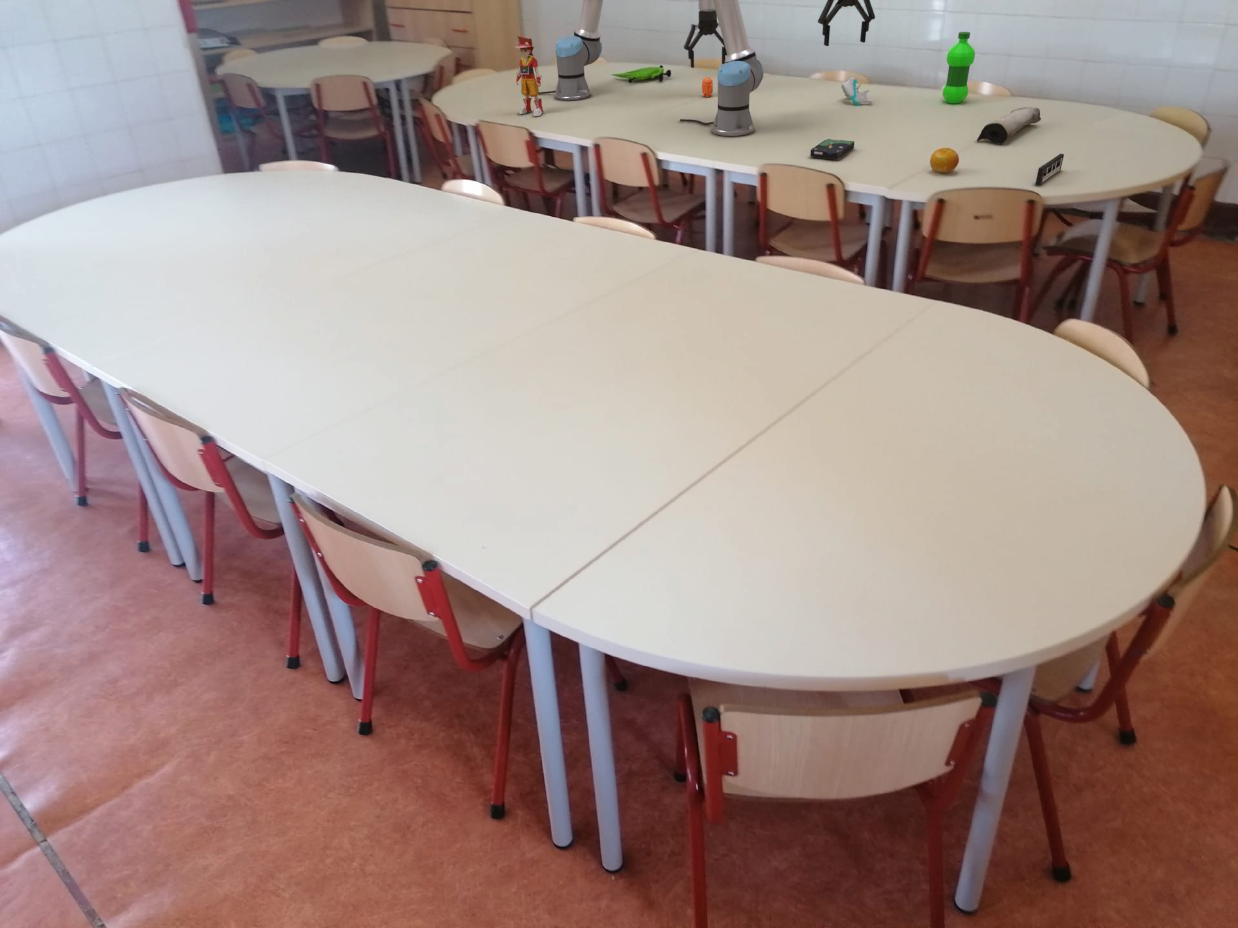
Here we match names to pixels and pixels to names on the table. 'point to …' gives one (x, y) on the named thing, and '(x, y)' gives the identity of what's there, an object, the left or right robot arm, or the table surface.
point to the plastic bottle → (958, 69)
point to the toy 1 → (529, 77)
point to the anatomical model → (855, 92)
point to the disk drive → (832, 149)
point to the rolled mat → (1009, 124)
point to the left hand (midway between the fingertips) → (707, 66)
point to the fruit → (944, 160)
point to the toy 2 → (645, 74)
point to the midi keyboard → (1049, 169)
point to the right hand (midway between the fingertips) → (844, 44)
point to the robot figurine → (707, 87)
